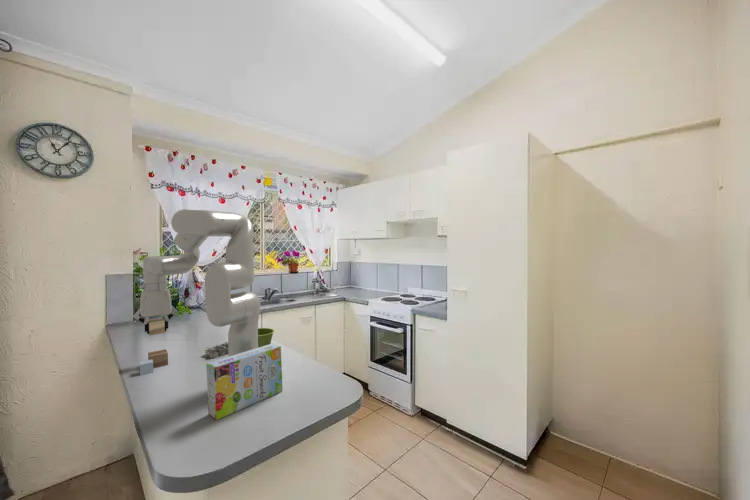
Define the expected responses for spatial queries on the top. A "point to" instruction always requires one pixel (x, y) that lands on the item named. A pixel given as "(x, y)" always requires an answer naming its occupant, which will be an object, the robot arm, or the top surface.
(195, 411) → the top surface
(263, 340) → the plant pot
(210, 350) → the egg carton
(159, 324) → the maple cube
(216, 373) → the snack box
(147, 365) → the slate cube
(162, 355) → the walnut block
